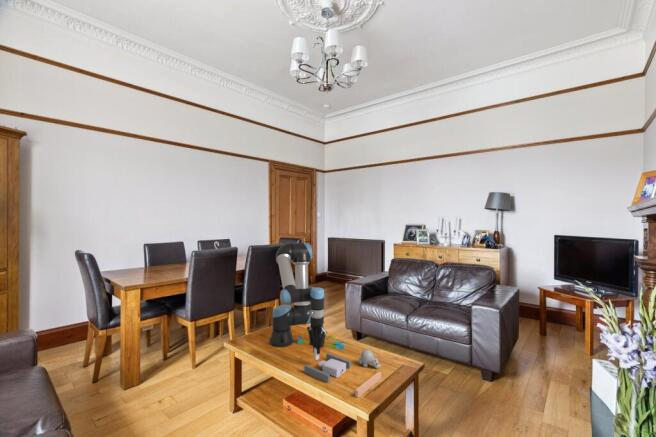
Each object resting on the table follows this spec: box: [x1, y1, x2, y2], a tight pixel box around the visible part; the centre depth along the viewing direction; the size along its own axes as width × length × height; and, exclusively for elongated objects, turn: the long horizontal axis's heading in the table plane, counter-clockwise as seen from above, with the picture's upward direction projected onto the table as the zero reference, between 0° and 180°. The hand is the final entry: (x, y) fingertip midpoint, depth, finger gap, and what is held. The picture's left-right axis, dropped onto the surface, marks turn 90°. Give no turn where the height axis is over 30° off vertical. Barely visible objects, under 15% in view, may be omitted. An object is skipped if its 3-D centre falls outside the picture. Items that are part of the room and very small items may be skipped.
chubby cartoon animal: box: [357, 349, 381, 370], centre depth 169 cm, size 7×12×8 cm, turn 56°
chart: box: [297, 329, 346, 350], centre depth 196 cm, size 30×3×15 cm, turn 76°
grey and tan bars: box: [303, 352, 382, 398], centre depth 159 cm, size 34×22×4 cm, turn 51°
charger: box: [318, 359, 347, 378], centre depth 165 cm, size 5×9×15 cm
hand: (316, 359), depth 169 cm, fingers closed
